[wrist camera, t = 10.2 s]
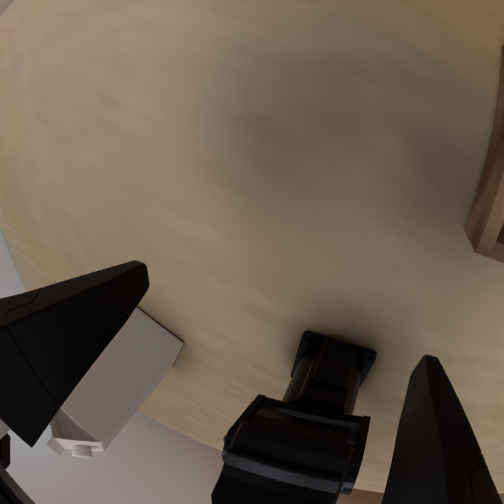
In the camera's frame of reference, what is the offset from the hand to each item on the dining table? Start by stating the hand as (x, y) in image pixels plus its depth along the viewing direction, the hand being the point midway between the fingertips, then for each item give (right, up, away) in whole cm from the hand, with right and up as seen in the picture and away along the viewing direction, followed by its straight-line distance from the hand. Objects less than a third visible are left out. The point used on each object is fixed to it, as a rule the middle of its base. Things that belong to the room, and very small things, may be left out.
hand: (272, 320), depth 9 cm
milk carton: (-12, -8, +27) cm, 30 cm away
